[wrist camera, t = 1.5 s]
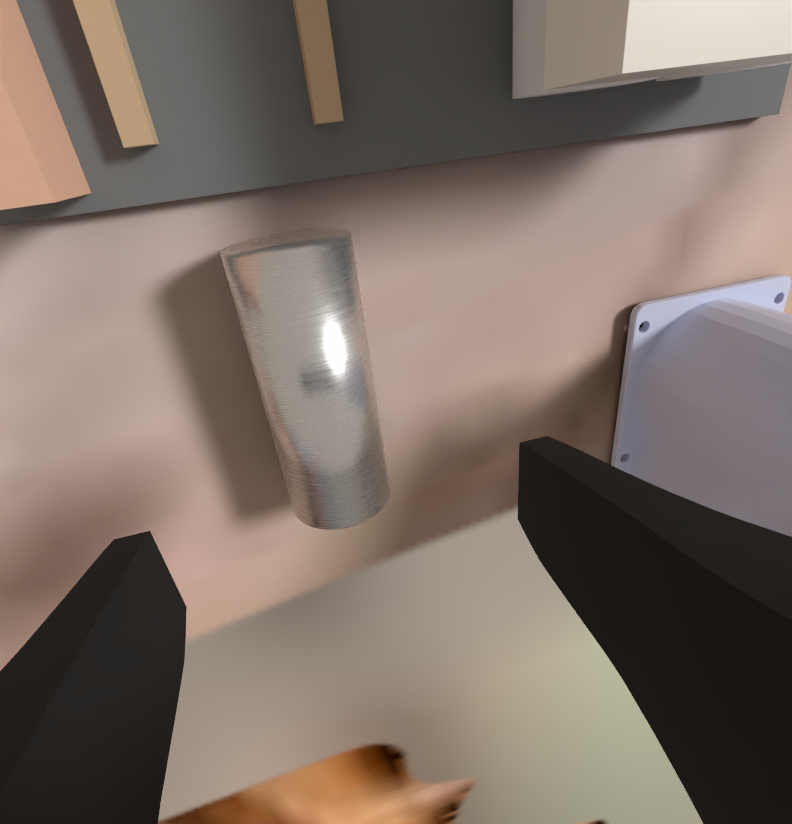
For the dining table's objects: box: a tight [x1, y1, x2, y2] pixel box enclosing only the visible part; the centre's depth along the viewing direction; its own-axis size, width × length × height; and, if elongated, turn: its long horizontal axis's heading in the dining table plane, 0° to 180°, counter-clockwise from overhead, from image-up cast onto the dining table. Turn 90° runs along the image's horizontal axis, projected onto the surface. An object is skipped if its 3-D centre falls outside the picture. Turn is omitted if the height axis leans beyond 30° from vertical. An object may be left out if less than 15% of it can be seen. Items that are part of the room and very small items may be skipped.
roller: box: [220, 228, 390, 529], centre depth 17 cm, size 10×4×4 cm, turn 7°
